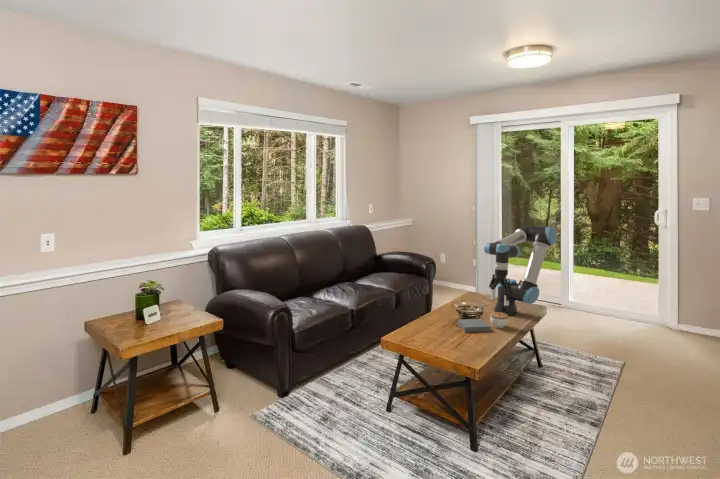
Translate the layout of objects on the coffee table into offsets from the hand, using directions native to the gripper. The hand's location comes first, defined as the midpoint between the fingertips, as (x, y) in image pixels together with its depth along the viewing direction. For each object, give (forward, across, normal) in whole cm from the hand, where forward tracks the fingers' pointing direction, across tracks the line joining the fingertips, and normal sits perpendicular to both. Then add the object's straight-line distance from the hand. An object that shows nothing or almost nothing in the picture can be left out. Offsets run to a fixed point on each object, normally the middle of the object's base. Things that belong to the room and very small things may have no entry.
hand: (499, 302), depth 258 cm
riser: (+16, -3, -16) cm, 23 cm away
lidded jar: (+16, 0, 0) cm, 16 cm away
